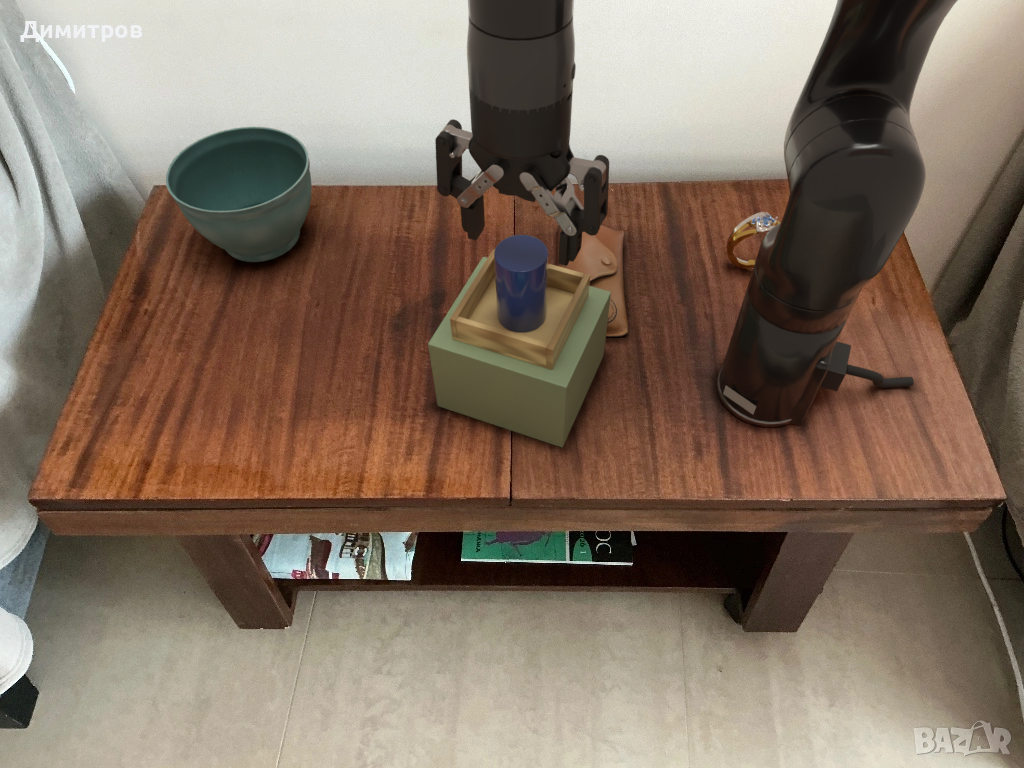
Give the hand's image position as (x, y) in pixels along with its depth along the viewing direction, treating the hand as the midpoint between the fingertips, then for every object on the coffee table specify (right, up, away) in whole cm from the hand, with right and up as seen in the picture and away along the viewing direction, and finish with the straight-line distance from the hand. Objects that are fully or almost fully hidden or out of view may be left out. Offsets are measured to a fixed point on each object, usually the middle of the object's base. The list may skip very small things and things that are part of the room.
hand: (521, 246), depth 68 cm
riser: (0, -12, +15) cm, 19 cm away
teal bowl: (-32, +6, +30) cm, 44 cm away
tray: (0, -6, +7) cm, 9 cm away
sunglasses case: (+9, 0, +24) cm, 26 cm away
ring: (+28, +2, +25) cm, 38 cm away
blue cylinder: (0, -5, +7) cm, 9 cm away
